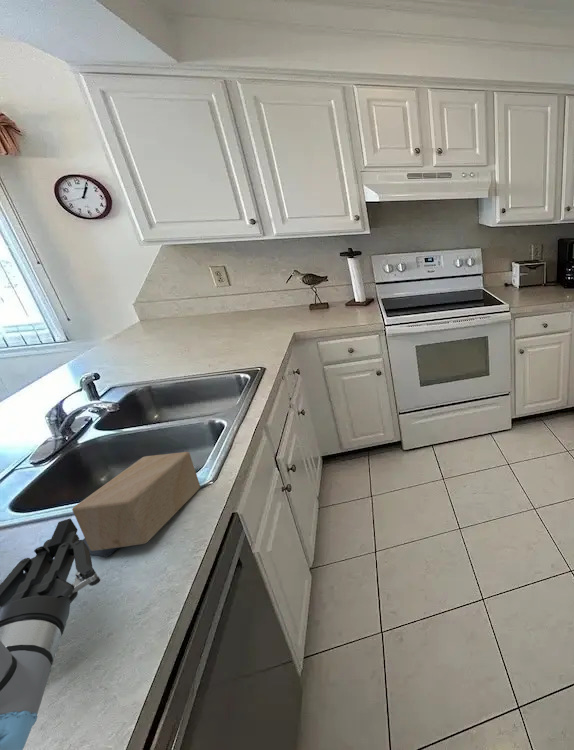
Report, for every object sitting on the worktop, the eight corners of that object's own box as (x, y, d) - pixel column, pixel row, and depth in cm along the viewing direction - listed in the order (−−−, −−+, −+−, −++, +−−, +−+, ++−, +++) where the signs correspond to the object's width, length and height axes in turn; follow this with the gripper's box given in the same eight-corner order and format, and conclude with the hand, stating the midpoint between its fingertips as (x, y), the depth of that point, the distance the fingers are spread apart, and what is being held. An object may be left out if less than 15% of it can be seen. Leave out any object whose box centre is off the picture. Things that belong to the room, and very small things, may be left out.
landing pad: (68, 553, 82) (67, 551, 82) (107, 523, 89) (106, 521, 89) (108, 556, 81) (106, 555, 81) (144, 526, 88) (143, 524, 88)
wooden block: (146, 544, 80) (201, 487, 99) (128, 501, 77) (189, 450, 96) (89, 552, 79) (156, 493, 98) (69, 508, 76) (143, 455, 95)
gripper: (-36, 688, 51) (27, 558, 69) (99, 631, 58) (125, 525, 76) (-74, 652, 48) (2, 526, 66) (74, 595, 54) (107, 494, 72)
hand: (68, 526), depth 71 cm, fingers closed
